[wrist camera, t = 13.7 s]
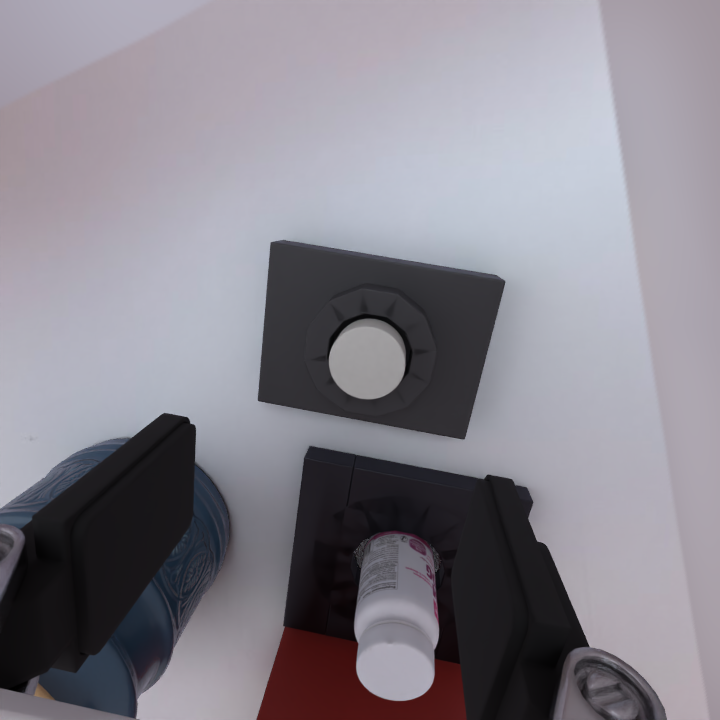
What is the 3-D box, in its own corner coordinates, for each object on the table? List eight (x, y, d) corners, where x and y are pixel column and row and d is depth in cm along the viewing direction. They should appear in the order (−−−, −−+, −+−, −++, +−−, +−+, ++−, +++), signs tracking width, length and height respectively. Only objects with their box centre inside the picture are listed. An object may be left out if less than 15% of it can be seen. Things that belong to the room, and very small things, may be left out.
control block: (497, 275, 24) (514, 285, 20) (460, 423, 26) (468, 456, 23) (282, 239, 24) (258, 243, 20) (268, 387, 27) (246, 415, 23)
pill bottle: (446, 564, 30) (460, 691, 22) (388, 590, 31) (380, 718, 23) (410, 512, 29) (410, 625, 21) (351, 541, 30) (329, 657, 22)
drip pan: (527, 487, 27) (533, 502, 26) (475, 648, 32) (478, 668, 30) (309, 445, 28) (304, 457, 27) (288, 608, 32) (283, 626, 31)
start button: (411, 325, 21) (411, 334, 20) (398, 392, 22) (397, 406, 21) (339, 312, 21) (333, 320, 20) (330, 379, 23) (324, 392, 21)
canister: (27, 472, 31) (-414, 762, 15) (168, 404, 28) (-183, 671, 12) (130, 605, 34) (-138, 973, 17) (268, 556, 31) (103, 945, 14)
